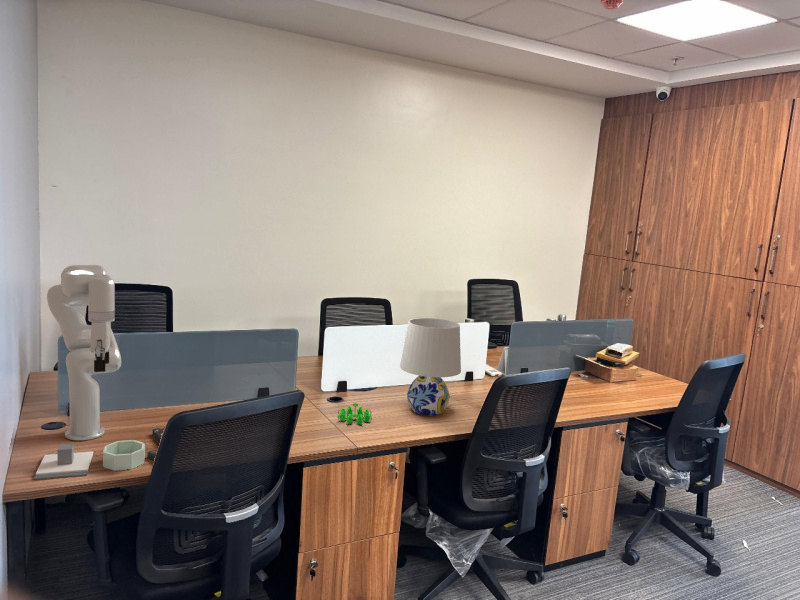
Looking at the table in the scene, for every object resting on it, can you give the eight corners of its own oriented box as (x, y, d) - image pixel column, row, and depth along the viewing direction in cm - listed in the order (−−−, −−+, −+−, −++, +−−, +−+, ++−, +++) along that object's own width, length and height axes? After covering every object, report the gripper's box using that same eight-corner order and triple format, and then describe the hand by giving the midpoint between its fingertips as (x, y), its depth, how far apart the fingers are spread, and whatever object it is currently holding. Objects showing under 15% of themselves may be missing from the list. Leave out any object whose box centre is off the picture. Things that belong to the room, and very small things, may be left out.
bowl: (106, 456, 195) (106, 441, 195) (145, 453, 200) (145, 439, 199) (101, 471, 184) (101, 456, 184) (143, 468, 189) (143, 453, 188)
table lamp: (412, 396, 281) (418, 314, 275) (465, 408, 270) (473, 323, 264) (386, 412, 257) (392, 322, 251) (444, 425, 246) (451, 332, 240)
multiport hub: (163, 469, 190) (163, 462, 189) (146, 458, 197) (146, 451, 196) (176, 465, 193) (176, 458, 193) (159, 454, 200) (159, 448, 200)
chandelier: (377, 417, 250) (378, 402, 249) (364, 429, 236) (365, 412, 235) (345, 411, 255) (346, 396, 254) (330, 422, 241) (331, 406, 240)
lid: (45, 456, 191) (44, 440, 190) (93, 453, 196) (93, 437, 195) (35, 475, 178) (35, 457, 177) (87, 471, 183) (87, 454, 182)
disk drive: (151, 436, 216) (164, 450, 204) (151, 429, 215) (164, 442, 204) (180, 431, 222) (194, 444, 211) (180, 424, 222) (194, 437, 210)
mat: (46, 455, 193) (46, 454, 193) (94, 452, 198) (94, 450, 198) (34, 480, 176) (34, 478, 176) (86, 475, 181) (86, 474, 181)
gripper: (92, 310, 195) (92, 360, 198) (84, 321, 179) (84, 375, 182) (117, 311, 198) (117, 360, 201) (111, 321, 182) (111, 374, 185)
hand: (101, 367), depth 191 cm, fingers open, 9 cm apart
